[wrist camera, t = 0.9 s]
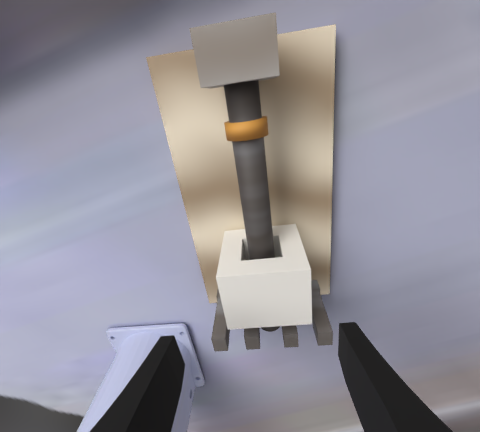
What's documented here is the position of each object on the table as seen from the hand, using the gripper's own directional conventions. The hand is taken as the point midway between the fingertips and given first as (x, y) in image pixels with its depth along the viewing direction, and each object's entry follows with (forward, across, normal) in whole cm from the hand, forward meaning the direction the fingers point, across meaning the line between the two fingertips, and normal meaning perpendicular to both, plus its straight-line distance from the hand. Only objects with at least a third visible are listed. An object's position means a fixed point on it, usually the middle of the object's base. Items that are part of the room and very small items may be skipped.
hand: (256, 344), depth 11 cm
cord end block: (+8, -1, +1) cm, 8 cm away
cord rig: (+9, -1, -3) cm, 10 cm away
